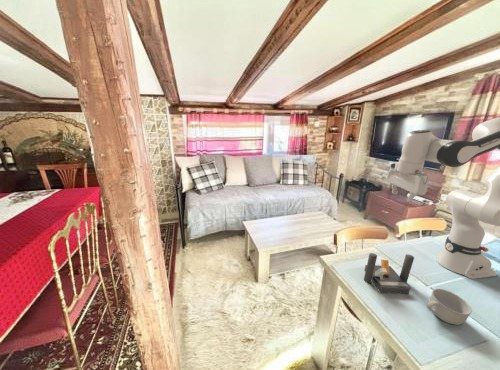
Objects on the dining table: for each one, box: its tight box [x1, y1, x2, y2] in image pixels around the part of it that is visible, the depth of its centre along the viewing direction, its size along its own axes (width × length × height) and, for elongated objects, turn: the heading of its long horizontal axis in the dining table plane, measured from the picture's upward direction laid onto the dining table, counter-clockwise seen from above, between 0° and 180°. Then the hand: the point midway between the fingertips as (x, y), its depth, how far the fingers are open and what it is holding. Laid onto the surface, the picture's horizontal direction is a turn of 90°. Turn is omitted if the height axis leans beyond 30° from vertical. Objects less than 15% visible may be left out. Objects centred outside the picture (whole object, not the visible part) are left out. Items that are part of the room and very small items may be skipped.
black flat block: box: [364, 264, 411, 295], centre depth 93 cm, size 12×14×3 cm
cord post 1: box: [363, 252, 378, 284], centre depth 92 cm, size 3×3×14 cm
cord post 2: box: [399, 254, 415, 284], centre depth 91 cm, size 3×3×14 cm
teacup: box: [426, 288, 473, 326], centre depth 76 cm, size 14×11×8 cm
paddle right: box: [374, 268, 387, 277], centre depth 90 cm, size 2×2×7 cm
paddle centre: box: [380, 259, 390, 275], centre depth 94 cm, size 2×2×7 cm
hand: (401, 197), depth 92 cm, fingers open, 8 cm apart
